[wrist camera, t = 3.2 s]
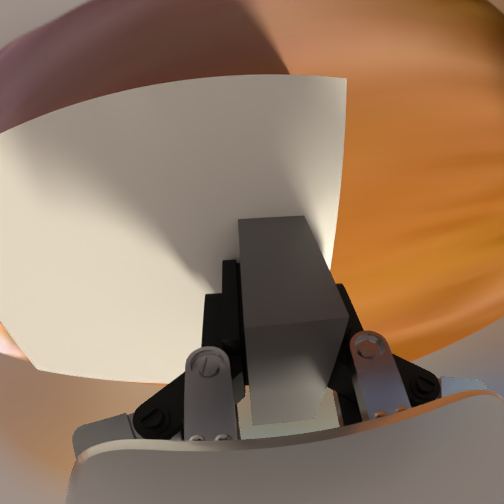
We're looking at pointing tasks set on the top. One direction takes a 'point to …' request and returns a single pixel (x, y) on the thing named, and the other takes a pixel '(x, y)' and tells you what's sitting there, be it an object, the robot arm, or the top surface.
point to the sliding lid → (179, 231)
